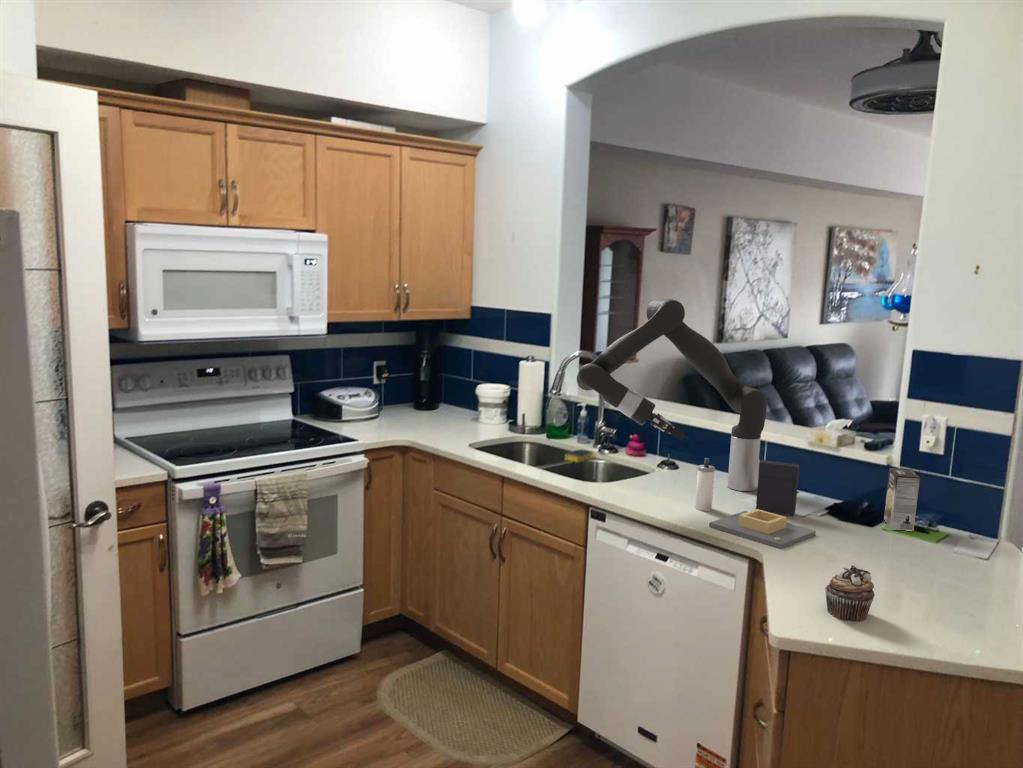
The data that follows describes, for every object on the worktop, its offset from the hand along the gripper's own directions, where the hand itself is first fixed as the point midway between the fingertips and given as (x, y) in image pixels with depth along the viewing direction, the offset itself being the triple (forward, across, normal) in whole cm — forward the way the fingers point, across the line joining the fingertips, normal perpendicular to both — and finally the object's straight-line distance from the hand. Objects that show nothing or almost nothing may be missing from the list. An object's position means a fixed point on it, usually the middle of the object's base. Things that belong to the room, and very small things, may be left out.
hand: (682, 436), depth 244 cm
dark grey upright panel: (+36, +4, +4) cm, 36 cm away
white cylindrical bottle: (+17, +2, +15) cm, 23 cm away
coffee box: (+65, -2, -12) cm, 66 cm away
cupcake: (+42, -67, +11) cm, 80 cm away
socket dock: (+30, -15, +10) cm, 35 cm away
